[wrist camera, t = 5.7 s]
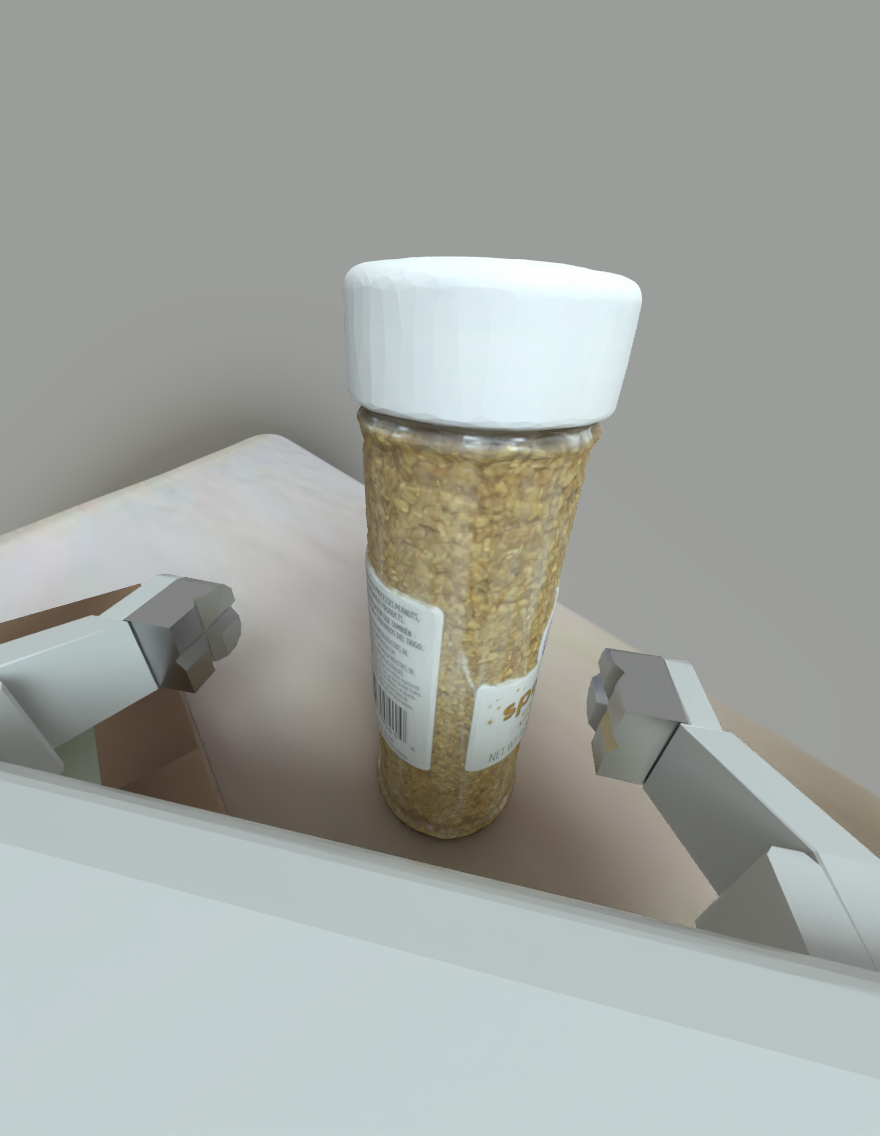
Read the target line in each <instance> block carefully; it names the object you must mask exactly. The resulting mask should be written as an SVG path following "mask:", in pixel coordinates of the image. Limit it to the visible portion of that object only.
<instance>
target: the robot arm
mask: <svg viewBox="0 0 880 1136" xmlns="http://www.w3.org/2000/svg"><path fill="white" fill-rule="evenodd" d="M234 601H235V599H234V596H233V592H232V589H231V588H230V587H228V586H226V585H224V584H219V583H213V582H208V581H203V580H198V579H192V578H187V577H180V576H175V575H169V574H162V575H157V576H155V577H154V578H152V579H151V580H149V581H148V582H147V583H145V584H144V585H142V586H141V587H139V588H138V589H136V590H135V591H134V592H132V593H131V594H129V595H128V596H126V597H125V598H124V599H122V600H121V601H119V602H118V603H116V604H115V605H114V606H112V607H111V608H109V609H108V610H106V611H105V612H104V613H102V614H101V615H99V616H93V615H90V616H87V617H84V618H81V619H78V620H75V621H72V622H69V623H65V624H62V625H59V626H56V627H53V628H50V629H47V630H44V631H40V632H37V633H34V634H31V635H28V636H25V637H22V638H18V639H15V640H12V641H9V642H6V643H3V644H0V1136H880V859H879V858H878V857H877V856H875V855H874V854H873V853H872V852H871V851H870V850H868V849H867V848H866V847H865V846H864V845H863V844H861V843H860V842H859V841H858V840H857V839H856V838H854V837H853V836H852V835H851V834H850V833H849V832H847V831H846V830H845V829H844V828H843V827H842V826H840V825H839V824H838V823H837V822H836V821H835V820H833V819H832V818H831V817H830V816H829V815H828V814H826V813H825V812H824V811H823V810H822V809H821V808H819V807H818V806H817V805H816V804H815V803H814V802H812V801H811V800H810V799H809V798H808V797H807V796H805V795H804V794H803V793H802V792H801V791H800V790H798V789H797V788H796V787H795V786H794V785H793V784H791V783H790V782H789V781H788V780H787V779H786V778H784V777H783V776H782V775H781V774H780V773H779V772H777V771H776V770H775V769H774V768H773V767H772V766H770V765H769V764H768V763H767V762H766V761H765V760H763V759H762V758H761V757H760V756H759V755H758V754H756V753H755V752H754V751H753V750H752V749H751V748H749V747H748V746H747V745H746V744H745V743H744V742H742V741H741V740H740V739H739V738H738V737H737V736H735V735H734V734H733V733H730V732H725V731H723V729H722V727H721V725H720V723H719V721H718V719H717V717H716V715H715V713H714V710H713V708H712V706H711V704H710V702H709V700H708V698H707V696H706V694H705V692H704V689H703V687H702V685H701V683H700V681H699V679H698V677H697V675H696V673H695V671H694V668H693V666H692V664H690V662H688V661H687V660H684V659H677V658H670V657H663V656H653V655H647V654H641V653H634V652H628V651H622V650H616V649H609V648H605V650H604V651H603V652H602V654H601V657H600V659H599V668H600V673H599V674H598V675H596V676H594V677H593V678H592V681H591V684H590V687H589V691H588V698H587V716H588V723H589V725H590V726H591V727H592V728H593V729H594V731H595V732H596V733H595V735H594V738H593V740H592V743H591V744H592V751H593V757H594V764H595V770H596V775H600V776H604V777H609V778H613V779H617V780H622V781H626V782H630V783H635V784H639V785H644V786H643V787H642V788H643V789H644V790H645V792H646V793H647V795H648V796H649V797H650V799H651V800H652V802H653V803H654V805H655V806H656V807H657V809H658V810H659V812H660V813H661V814H662V816H663V817H664V819H665V820H666V822H667V823H668V824H669V826H670V827H671V829H672V830H673V831H674V833H675V834H676V836H677V837H678V839H679V840H680V841H681V843H682V844H683V846H684V847H685V848H686V850H687V851H688V853H689V854H690V855H691V857H692V858H693V860H694V861H695V863H696V864H697V865H698V867H699V868H700V870H701V871H702V872H703V874H704V875H705V877H706V878H707V880H708V881H709V882H710V884H711V885H712V887H713V888H714V889H715V891H716V892H717V894H718V895H719V897H718V898H717V899H716V900H715V901H714V902H713V903H712V904H711V905H709V906H708V907H707V908H706V909H705V910H704V911H703V912H702V913H701V914H700V915H699V916H698V918H697V919H696V920H695V924H696V928H694V927H689V926H685V925H681V924H677V923H673V922H669V921H665V920H660V919H656V918H652V917H648V916H644V915H640V914H635V913H631V912H627V911H623V910H619V909H615V908H611V907H606V906H602V905H598V904H594V903H590V902H586V901H581V900H577V899H573V898H569V897H565V896H561V895H557V894H552V893H548V892H544V891H540V890H536V889H532V888H527V887H523V886H519V885H515V884H511V883H507V882H503V881H498V880H494V879H490V878H486V877H482V876H478V875H474V874H469V873H465V872H461V871H457V870H453V869H449V868H444V867H440V866H436V865H432V864H428V863H424V862H420V861H415V860H411V859H407V858H403V857H399V856H395V855H390V854H386V853H382V852H378V851H374V850H370V849H365V848H361V847H357V846H353V845H349V844H345V843H341V842H336V841H332V840H328V839H324V838H320V837H316V836H311V835H307V834H303V833H299V832H295V831H291V830H286V829H282V828H278V827H274V826H270V825H266V824H261V823H257V822H253V821H249V820H245V819H241V818H236V817H232V816H228V815H224V814H220V813H216V812H211V811H207V810H203V809H199V808H195V807H191V806H186V805H182V804H178V803H174V802H170V801H166V800H161V799H157V798H153V797H149V796H145V795H141V794H136V793H132V792H128V791H124V790H120V789H116V788H111V787H107V786H103V785H99V784H95V783H91V782H86V781H82V780H78V779H74V778H70V777H65V776H61V775H60V774H61V773H62V772H63V770H64V763H63V761H62V760H61V759H60V757H59V756H58V755H57V753H56V752H55V751H54V749H55V748H56V747H58V746H60V745H62V744H63V743H65V742H67V741H68V740H70V739H72V738H74V737H75V736H77V735H79V734H81V733H82V732H84V731H86V730H88V729H89V728H91V727H93V726H95V725H96V724H98V723H100V722H102V721H103V720H105V719H107V718H109V717H110V716H112V715H114V714H115V713H117V712H119V711H121V710H122V709H124V708H126V707H128V706H129V705H131V704H133V703H135V702H136V701H138V700H140V699H142V698H143V697H145V696H147V695H149V694H150V693H152V692H154V691H156V690H157V689H158V687H162V688H168V689H174V690H180V691H186V692H191V693H196V691H197V690H198V689H199V688H200V687H201V686H202V685H203V684H204V682H205V681H206V680H207V679H208V678H209V677H210V676H211V674H212V673H213V672H214V671H215V662H216V661H218V660H220V659H222V658H224V657H226V656H228V655H229V654H230V653H231V651H232V650H233V649H234V648H235V647H236V645H237V642H238V640H239V637H240V635H241V621H240V617H239V615H238V614H237V613H236V612H235V611H234V610H233V609H232V607H231V606H232V604H233V603H234Z"/></svg>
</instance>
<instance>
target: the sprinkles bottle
mask: <svg viewBox="0 0 880 1136" xmlns="http://www.w3.org/2000/svg"><path fill="white" fill-rule="evenodd" d="M343 297H344V329H345V330H344V332H345V349H346V364H347V378H348V391H349V393H350V395H351V397H352V398H353V399H354V400H355V401H356V402H357V403H359V404H360V405H361V407H360V408H359V411H358V413H357V419H358V421H359V424H360V428H361V432H362V435H363V438H364V443H363V462H364V479H365V495H366V517H367V527H368V534H367V539H368V544H367V548H366V575H367V590H368V604H369V619H370V634H371V650H372V669H373V686H374V700H375V714H376V720H377V724H378V727H379V730H380V749H379V754H378V761H377V765H378V768H377V774H378V778H379V785H380V790H381V792H382V795H383V797H384V799H385V800H386V801H387V803H388V805H389V807H390V809H391V810H392V811H393V812H394V814H395V815H396V816H397V817H398V818H399V819H401V820H402V821H403V822H404V823H405V824H407V825H408V826H410V827H412V828H413V829H415V830H417V831H419V832H422V833H425V834H427V835H430V836H434V837H437V838H441V839H450V838H459V837H464V836H466V835H470V834H472V833H474V832H476V831H477V830H479V829H482V828H483V827H485V826H486V825H488V824H490V823H491V822H492V821H493V820H494V819H495V818H496V817H497V816H498V815H499V814H500V813H501V811H502V810H503V808H504V807H505V806H506V804H507V802H508V800H509V798H510V795H511V792H512V789H513V786H514V783H515V772H514V769H515V761H516V757H517V753H518V749H519V745H520V740H521V738H522V736H523V734H524V731H525V728H526V725H527V721H528V717H529V713H530V708H531V704H532V700H533V696H534V691H535V687H536V682H537V677H538V673H539V669H540V665H541V661H542V657H543V653H544V649H545V645H546V641H547V637H548V633H549V629H550V625H551V621H552V617H553V613H554V609H555V605H556V601H557V597H558V591H559V579H560V573H561V570H562V565H563V561H564V557H565V553H566V548H567V545H568V542H569V538H570V534H571V531H572V528H573V523H574V517H575V514H576V509H577V504H578V499H579V496H580V492H581V486H582V484H583V482H584V479H585V466H586V463H587V462H588V460H589V457H590V450H591V449H592V447H593V446H594V444H595V443H596V442H597V441H598V440H599V439H600V433H601V432H602V428H601V427H600V425H599V424H598V422H601V421H602V420H604V419H606V418H608V417H609V416H610V415H611V414H612V413H613V412H614V411H615V408H616V405H617V401H618V397H619V394H620V390H621V386H622V383H623V379H624V376H625V372H626V368H627V365H628V360H629V356H630V352H631V348H632V344H633V340H634V335H635V331H636V327H637V322H638V318H639V313H640V308H641V304H642V295H641V290H640V288H639V286H638V285H637V284H636V283H635V282H634V281H632V280H630V279H628V278H626V277H624V276H622V275H617V274H613V273H608V272H602V271H595V270H590V269H587V268H583V267H577V266H572V265H567V264H560V263H551V262H541V261H531V260H518V259H499V258H484V257H416V258H415V257H413V258H404V259H396V260H380V261H372V262H365V263H362V264H358V265H356V266H355V267H353V268H351V269H350V271H349V272H348V273H347V275H346V277H345V281H344V285H343Z"/></svg>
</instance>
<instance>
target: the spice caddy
mask: <svg viewBox="0 0 880 1136" xmlns="http://www.w3.org/2000/svg"><path fill="white" fill-rule="evenodd" d="M139 587H141V584H137V585H133V586H130V587H126V588H123V589H119V590H116V591H112V592H109V593H105V594H102V595H98V596H95V597H91V598H88V599H84V600H81V601H77V602H74V603H70V604H67V605H63V606H59V607H56V608H52V609H49V610H45V611H42V612H38V613H35V614H31V615H28V616H24V617H21V618H17V619H14V620H10V621H7V622H3V623H0V644H3V643H6V642H9V641H12V640H15V639H18V638H22V637H25V636H28V635H31V634H34V633H37V632H40V631H44V630H47V629H50V628H53V627H56V626H59V625H62V624H65V623H69V622H72V621H75V620H78V619H81V618H84V617H87V616H90V615H93V616H99V615H101V614H102V613H104V612H105V611H106V610H108V609H109V608H111V607H112V606H114V605H115V604H116V603H118V602H119V601H121V600H122V599H124V598H125V597H126V596H128V595H129V594H131V593H132V592H134V591H135V590H136V589H138V588H139ZM54 751H55V752H56V753H57V755H58V756H59V757H60V759H61V760H62V761H63V763H64V770H63V772H62V773H61V774H60V775H61V776H65V777H70V778H74V779H78V780H82V781H86V782H91V783H95V784H99V785H103V786H107V787H111V788H116V789H120V790H124V791H128V792H132V793H136V794H141V795H145V796H149V797H153V798H157V799H161V800H166V801H170V802H174V803H178V804H182V805H186V806H191V807H195V808H199V809H203V810H207V811H211V812H216V813H220V814H224V815H228V813H227V810H226V807H225V805H224V802H223V799H222V796H221V794H220V791H219V788H218V785H217V783H216V780H215V777H214V774H213V772H212V769H211V766H210V763H209V761H208V758H207V755H206V752H205V750H204V747H203V744H202V741H201V739H200V736H199V733H198V730H197V728H196V725H195V722H194V719H193V717H192V714H191V711H190V708H189V706H188V703H187V700H186V697H185V694H184V692H183V691H180V690H174V689H168V688H162V687H158V689H157V690H156V691H154V692H152V693H150V694H149V695H147V696H145V697H143V698H142V699H140V700H138V701H136V702H135V703H133V704H131V705H129V706H128V707H126V708H124V709H122V710H121V711H119V712H117V713H115V714H114V715H112V716H110V717H109V718H107V719H105V720H103V721H102V722H100V723H98V724H96V725H95V726H93V727H91V728H89V729H88V730H86V731H84V732H82V733H81V734H79V735H77V736H75V737H74V738H72V739H70V740H68V741H67V742H65V743H63V744H62V745H60V746H58V747H56V748H55V749H54Z"/></svg>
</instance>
